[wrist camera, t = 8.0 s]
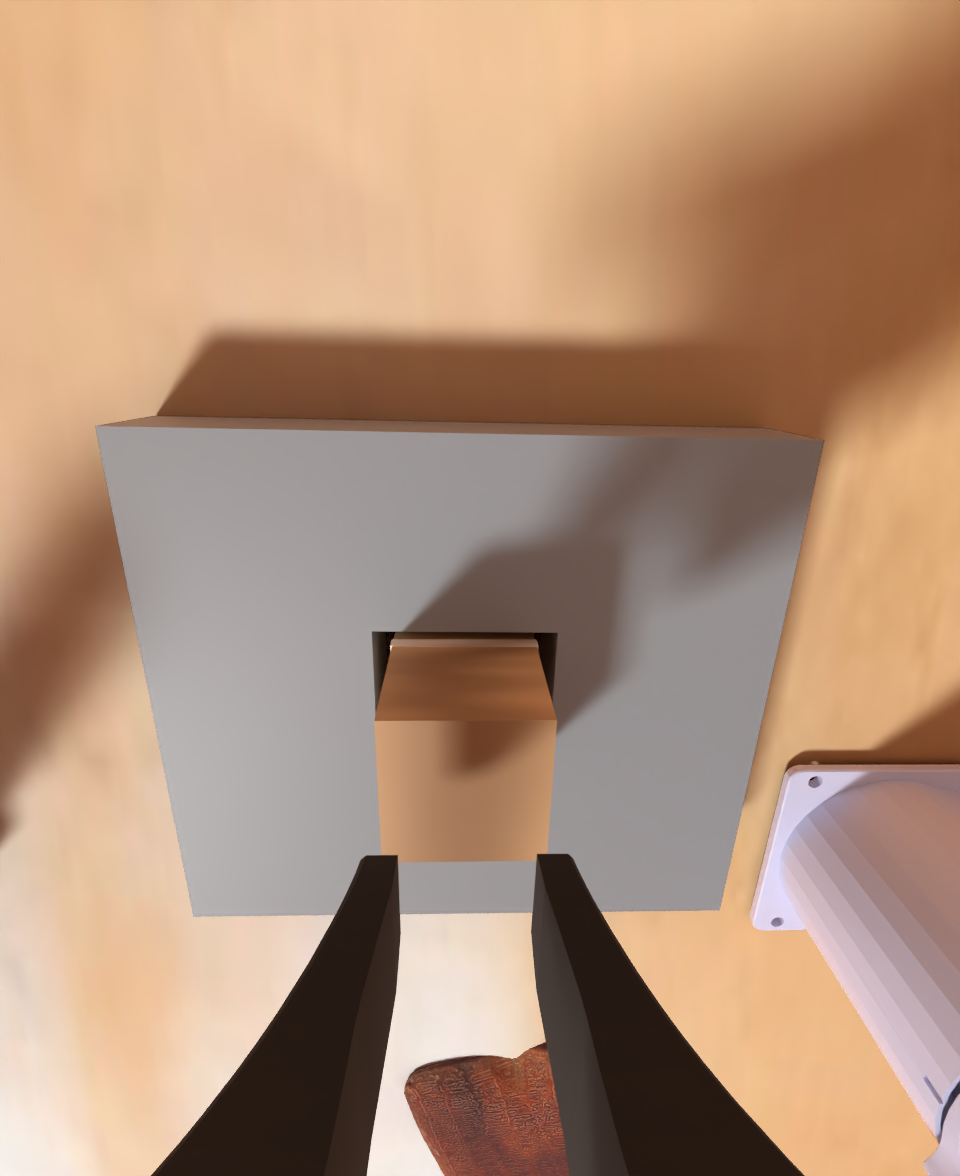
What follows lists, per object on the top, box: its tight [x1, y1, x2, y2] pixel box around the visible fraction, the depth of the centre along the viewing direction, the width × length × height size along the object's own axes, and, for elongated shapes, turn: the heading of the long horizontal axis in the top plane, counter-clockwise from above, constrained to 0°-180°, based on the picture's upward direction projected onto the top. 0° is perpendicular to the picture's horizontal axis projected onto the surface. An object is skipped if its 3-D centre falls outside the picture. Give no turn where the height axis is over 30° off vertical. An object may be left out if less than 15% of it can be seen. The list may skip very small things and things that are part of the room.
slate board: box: [95, 416, 824, 917], centre depth 19 cm, size 18×16×3 cm
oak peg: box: [374, 632, 557, 863], centre depth 17 cm, size 4×4×7 cm
